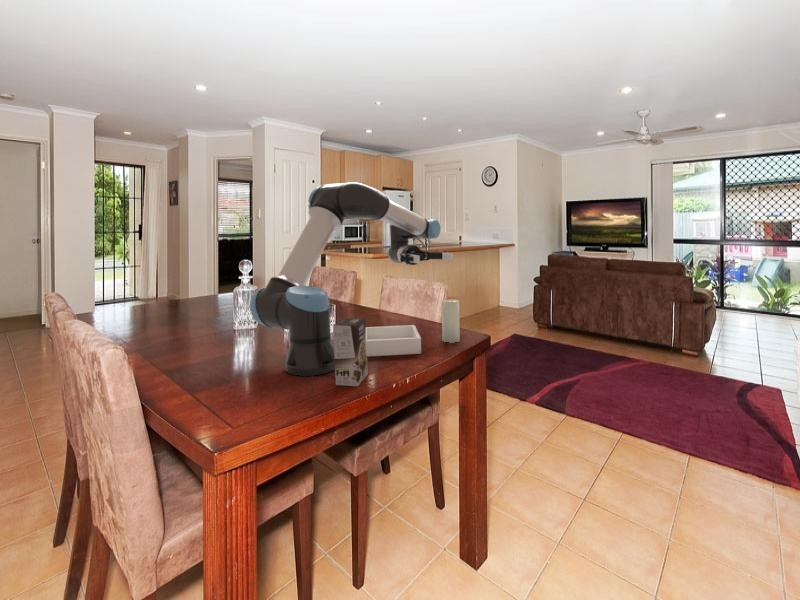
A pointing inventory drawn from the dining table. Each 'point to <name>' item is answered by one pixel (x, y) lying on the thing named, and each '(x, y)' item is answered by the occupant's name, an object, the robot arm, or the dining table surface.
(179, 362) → the dining table surface
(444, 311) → the canister
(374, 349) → the tote
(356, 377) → the coffee box
